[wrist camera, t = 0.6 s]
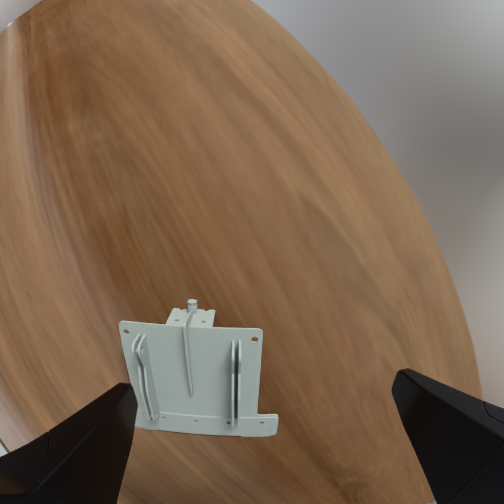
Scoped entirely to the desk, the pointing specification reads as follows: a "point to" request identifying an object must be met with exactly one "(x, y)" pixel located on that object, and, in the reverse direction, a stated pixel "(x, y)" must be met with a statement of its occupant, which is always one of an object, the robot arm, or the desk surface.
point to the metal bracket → (196, 375)
